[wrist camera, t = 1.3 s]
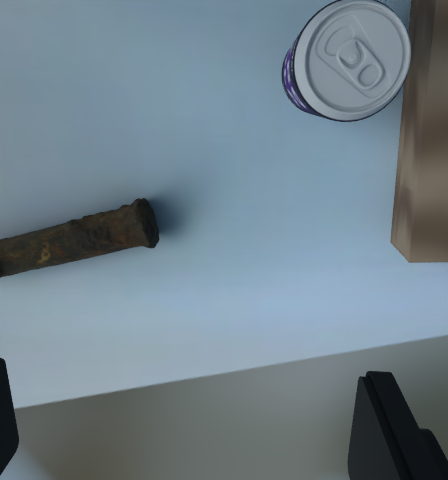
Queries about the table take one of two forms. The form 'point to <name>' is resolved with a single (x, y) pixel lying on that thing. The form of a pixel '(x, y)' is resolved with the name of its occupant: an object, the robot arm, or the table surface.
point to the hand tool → (81, 239)
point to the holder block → (424, 140)
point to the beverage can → (347, 61)
